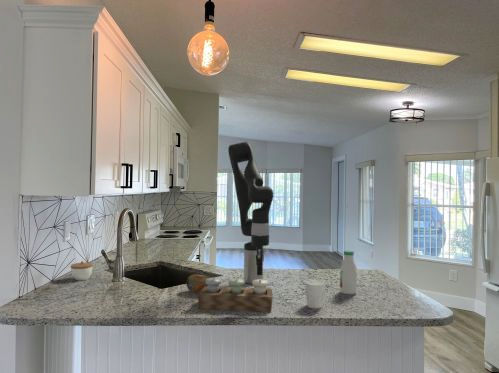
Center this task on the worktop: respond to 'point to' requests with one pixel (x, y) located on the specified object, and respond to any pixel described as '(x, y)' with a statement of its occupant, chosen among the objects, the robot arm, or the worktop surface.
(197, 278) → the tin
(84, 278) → the lidded jar
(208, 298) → the brown wooden block
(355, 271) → the milk bottle
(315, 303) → the white cup
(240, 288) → the sage knob
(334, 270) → the worktop surface
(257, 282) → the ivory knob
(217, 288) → the grey knob
